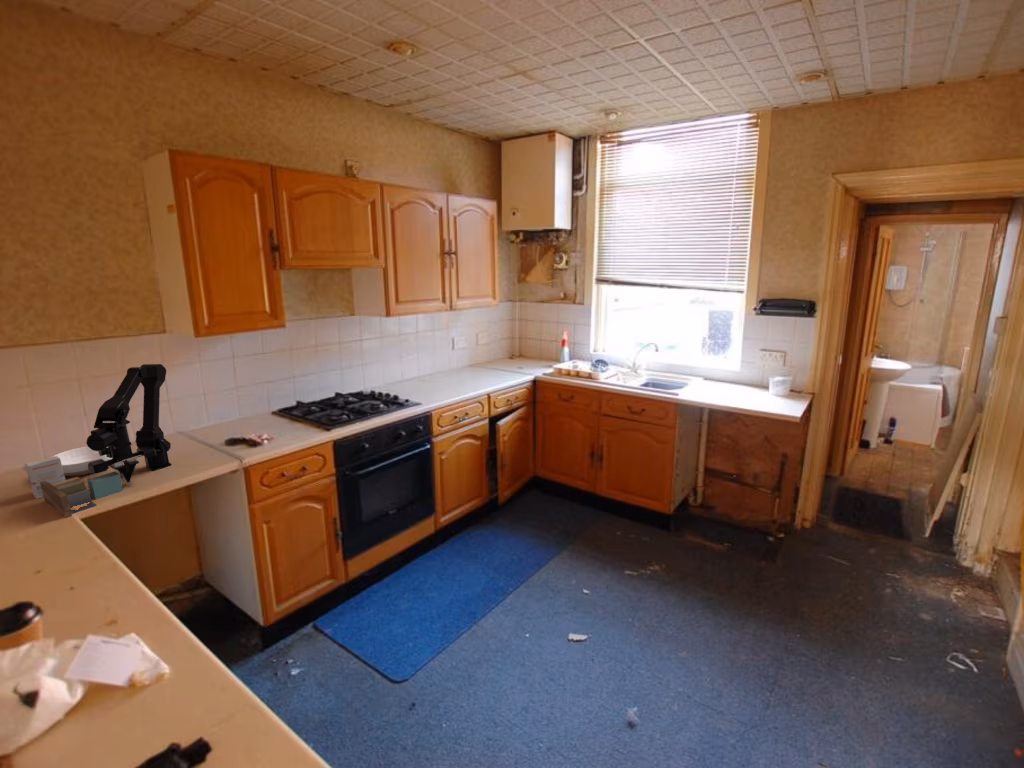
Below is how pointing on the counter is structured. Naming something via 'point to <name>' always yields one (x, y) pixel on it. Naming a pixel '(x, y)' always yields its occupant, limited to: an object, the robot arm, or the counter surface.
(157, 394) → the robot arm
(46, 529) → the counter surface
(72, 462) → the bowl
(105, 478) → the grey teal rectangular block
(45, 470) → the ink box
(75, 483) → the row of shelved books
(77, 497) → the grey metal bookend
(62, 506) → the walnut back wall
